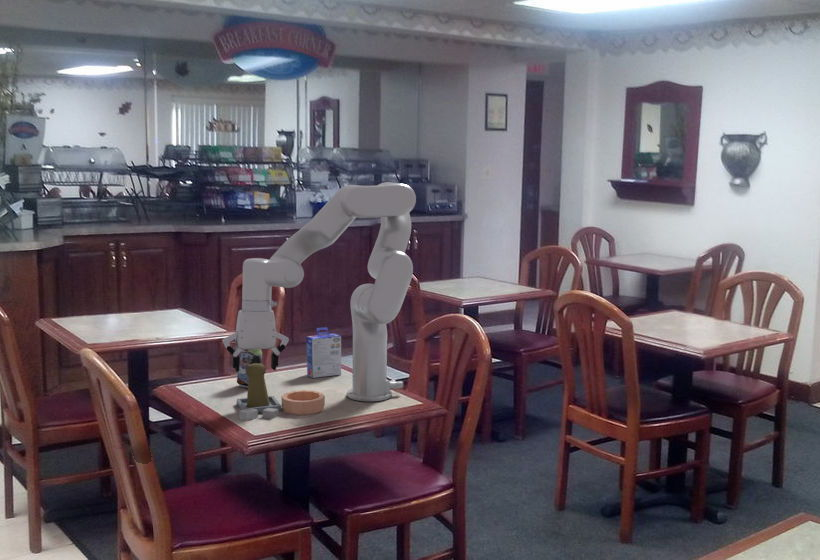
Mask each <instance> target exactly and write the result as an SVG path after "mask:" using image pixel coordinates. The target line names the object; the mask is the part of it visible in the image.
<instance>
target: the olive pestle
mask: <svg viewBox="0 0 820 560" xmlns="http://www.w3.org/2000/svg"><path fill="white" fill-rule="evenodd" d="M246 374H247V376H248V388H247V394H246V395H247V397H246V398H247V407H263V406H267V405H269V404H270V403H269V398H268V396H269V394H268V389H267V383H266V379H265V374H266V367H265V364H263V363H261V364H260V363H254V364H250V365H248V366H247V367H246Z"/></svg>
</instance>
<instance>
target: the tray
mask: <svg viewBox="0 0 820 560" xmlns="http://www.w3.org/2000/svg"><path fill="white" fill-rule="evenodd" d="M268 398H269V403H270V404H269V405H267V406H263V407H247V397H244V398H243V397H242V398H236V406H237V408H238V409H239V411H240V410H244V409H248V408H253V409H256V410H258V414H263V410H264V409H266V408H274V409H279V411H280V412H282V404H280V402H279V401H278V400H277V398H276V397H275V396H274V395H268Z"/></svg>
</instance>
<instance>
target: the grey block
mask: <svg viewBox="0 0 820 560" xmlns="http://www.w3.org/2000/svg"><path fill="white" fill-rule="evenodd" d="M279 415H280V412H279V409H274V408H266V409H264V410H263V413H262V418H265V419H272V418H273V419H275V417H276V418H278V417H279ZM277 416H278V417H277Z"/></svg>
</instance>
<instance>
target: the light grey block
mask: <svg viewBox="0 0 820 560" xmlns="http://www.w3.org/2000/svg"><path fill="white" fill-rule="evenodd" d="M240 418H242V419H241V420H243V419H244V421H246V420H247V421H249V420H250V419H251V420H254V419H258V418H259V413H258V410H256V409H253V408H248V409H244V410H240V409H239V419H240Z"/></svg>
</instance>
